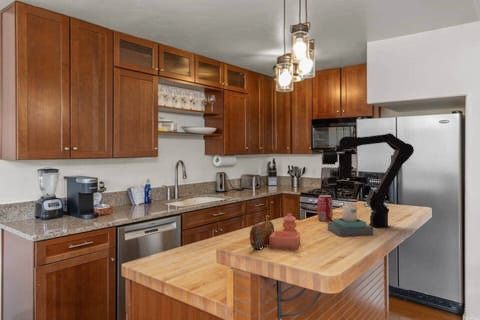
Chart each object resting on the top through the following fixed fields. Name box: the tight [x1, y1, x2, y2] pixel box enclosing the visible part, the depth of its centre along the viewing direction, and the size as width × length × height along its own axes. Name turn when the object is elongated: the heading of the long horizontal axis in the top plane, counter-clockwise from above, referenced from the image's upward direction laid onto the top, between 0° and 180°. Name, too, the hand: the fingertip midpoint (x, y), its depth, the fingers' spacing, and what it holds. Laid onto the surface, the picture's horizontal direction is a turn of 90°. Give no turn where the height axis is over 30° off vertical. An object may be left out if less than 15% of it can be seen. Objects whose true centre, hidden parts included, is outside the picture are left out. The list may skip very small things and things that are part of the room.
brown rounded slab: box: [249, 220, 275, 250], centre depth 119 cm, size 15×3×8 cm, turn 150°
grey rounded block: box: [342, 204, 358, 222], centre depth 137 cm, size 6×7×8 cm
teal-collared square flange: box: [327, 217, 374, 237], centre depth 138 cm, size 14×12×5 cm
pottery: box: [268, 213, 301, 251], centre depth 123 cm, size 18×10×10 cm, turn 162°
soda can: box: [317, 194, 334, 222], centre depth 164 cm, size 7×7×12 cm
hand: (345, 199), depth 150 cm, fingers open, 9 cm apart
